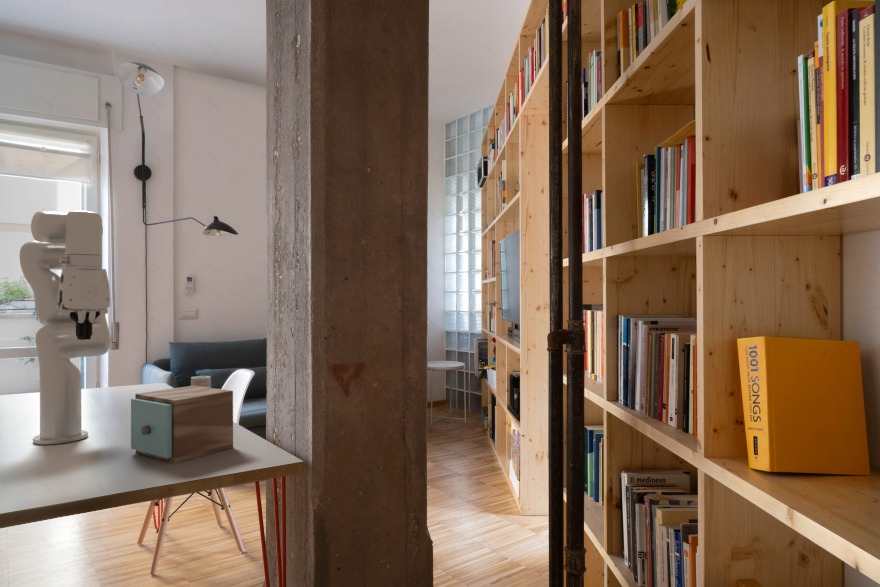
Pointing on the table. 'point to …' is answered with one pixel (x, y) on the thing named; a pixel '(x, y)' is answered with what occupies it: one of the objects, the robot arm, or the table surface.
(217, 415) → the cabinet
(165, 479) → the table surface
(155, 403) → the drawer
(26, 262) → the robot arm
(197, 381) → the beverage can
